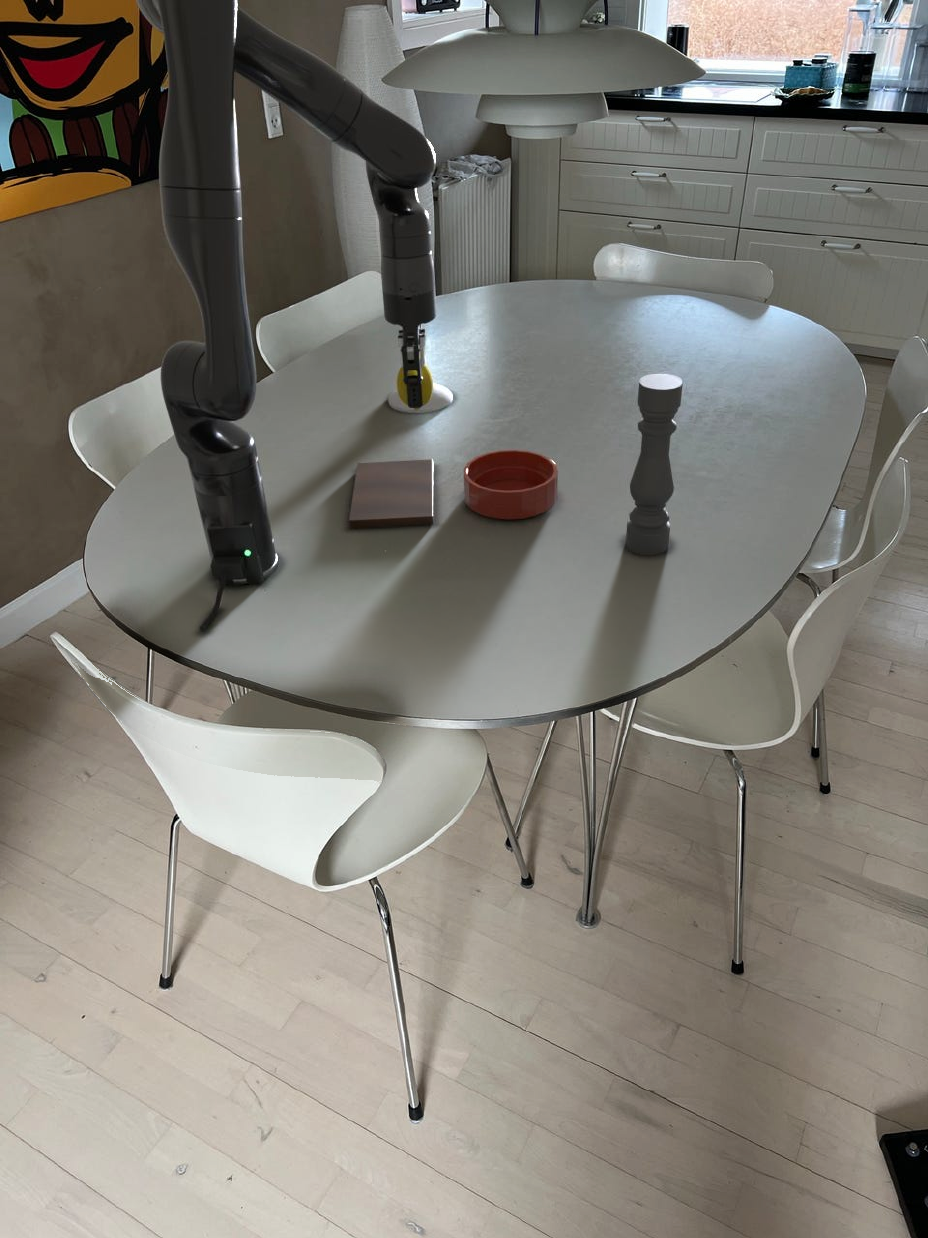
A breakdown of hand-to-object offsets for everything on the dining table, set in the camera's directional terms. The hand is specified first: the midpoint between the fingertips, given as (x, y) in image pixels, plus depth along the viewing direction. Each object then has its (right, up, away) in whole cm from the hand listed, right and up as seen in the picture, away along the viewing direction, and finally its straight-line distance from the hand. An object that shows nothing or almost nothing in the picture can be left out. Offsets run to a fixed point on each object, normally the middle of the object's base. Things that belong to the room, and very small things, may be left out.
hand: (416, 398), depth 141 cm
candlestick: (-1, +10, +44) cm, 45 cm away
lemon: (0, -2, +1) cm, 2 cm away
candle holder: (+34, -23, -4) cm, 41 cm away
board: (-4, -13, +11) cm, 18 cm away
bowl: (+15, -14, +8) cm, 22 cm away
